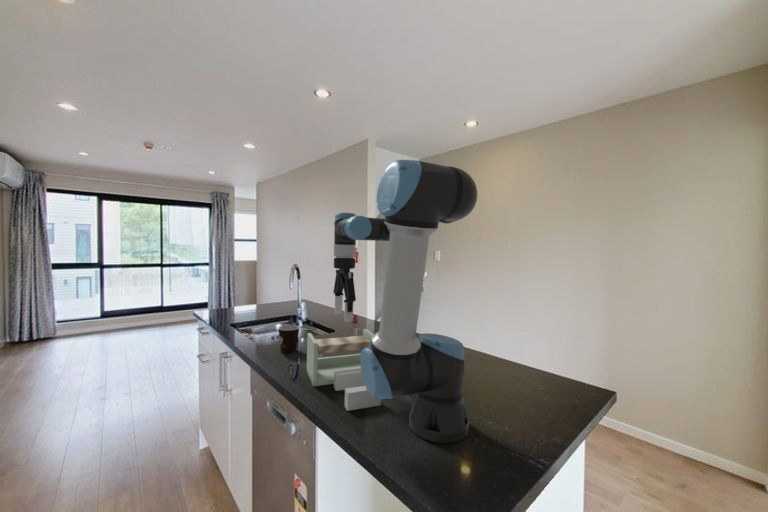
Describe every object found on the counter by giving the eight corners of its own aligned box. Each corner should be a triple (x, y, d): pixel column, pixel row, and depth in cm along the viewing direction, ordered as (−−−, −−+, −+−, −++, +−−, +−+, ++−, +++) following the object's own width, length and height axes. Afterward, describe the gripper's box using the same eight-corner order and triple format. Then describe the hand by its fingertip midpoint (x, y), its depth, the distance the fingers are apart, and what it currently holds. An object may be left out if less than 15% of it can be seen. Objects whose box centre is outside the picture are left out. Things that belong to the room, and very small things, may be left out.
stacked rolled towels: (319, 353, 106) (319, 346, 106) (314, 346, 114) (314, 339, 114) (369, 348, 113) (370, 341, 113) (362, 342, 121) (362, 335, 121)
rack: (380, 405, 93) (381, 388, 93) (347, 411, 89) (347, 393, 89) (362, 382, 107) (363, 368, 107) (333, 387, 104) (334, 371, 103)
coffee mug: (278, 348, 140) (278, 325, 140) (298, 347, 143) (299, 324, 142) (277, 357, 129) (278, 332, 129) (299, 355, 132) (300, 331, 131)
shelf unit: (377, 377, 112) (378, 337, 112) (313, 386, 104) (314, 343, 103) (365, 364, 124) (366, 328, 124) (306, 371, 116) (307, 333, 115)
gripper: (366, 258, 103) (364, 324, 103) (345, 256, 126) (344, 310, 126) (343, 258, 100) (342, 326, 100) (326, 256, 123) (325, 311, 123)
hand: (343, 317), depth 113 cm, fingers open, 13 cm apart
